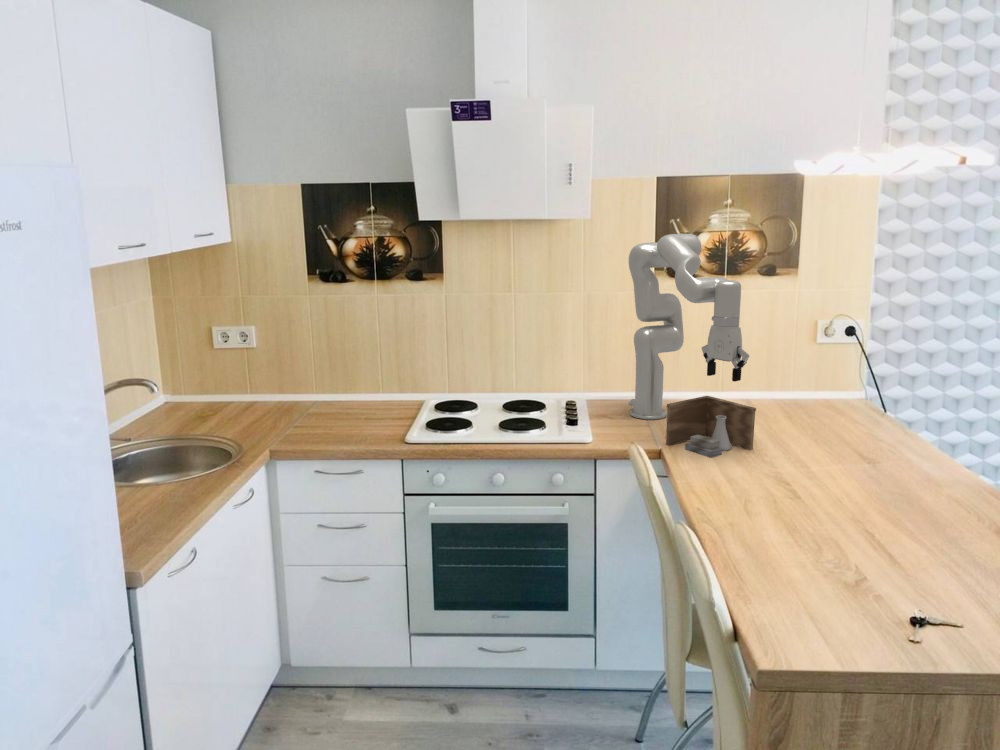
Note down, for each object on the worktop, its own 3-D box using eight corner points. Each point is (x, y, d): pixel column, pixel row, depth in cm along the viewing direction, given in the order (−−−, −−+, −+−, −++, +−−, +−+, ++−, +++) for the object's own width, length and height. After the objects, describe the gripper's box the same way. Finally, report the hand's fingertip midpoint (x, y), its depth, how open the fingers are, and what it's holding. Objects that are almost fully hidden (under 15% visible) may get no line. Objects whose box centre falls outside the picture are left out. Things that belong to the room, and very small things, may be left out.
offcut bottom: (685, 451, 263) (685, 443, 262) (696, 448, 266) (696, 440, 265) (710, 459, 255) (710, 451, 254) (721, 456, 258) (722, 448, 257)
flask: (732, 452, 260) (734, 420, 258) (707, 450, 262) (709, 419, 259) (731, 445, 267) (732, 414, 265) (707, 443, 268) (708, 412, 266)
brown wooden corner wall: (665, 444, 268) (666, 404, 265) (705, 434, 278) (707, 395, 275) (713, 460, 253) (715, 417, 250) (753, 449, 263) (756, 408, 260)
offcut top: (690, 444, 262) (690, 436, 261) (697, 441, 264) (697, 434, 263) (712, 450, 256) (712, 442, 255) (719, 447, 258) (719, 440, 258)
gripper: (695, 319, 260) (693, 374, 264) (741, 326, 247) (738, 384, 250) (712, 317, 265) (709, 371, 268) (758, 324, 251) (754, 381, 254)
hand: (723, 378), depth 259 cm, fingers open, 9 cm apart
